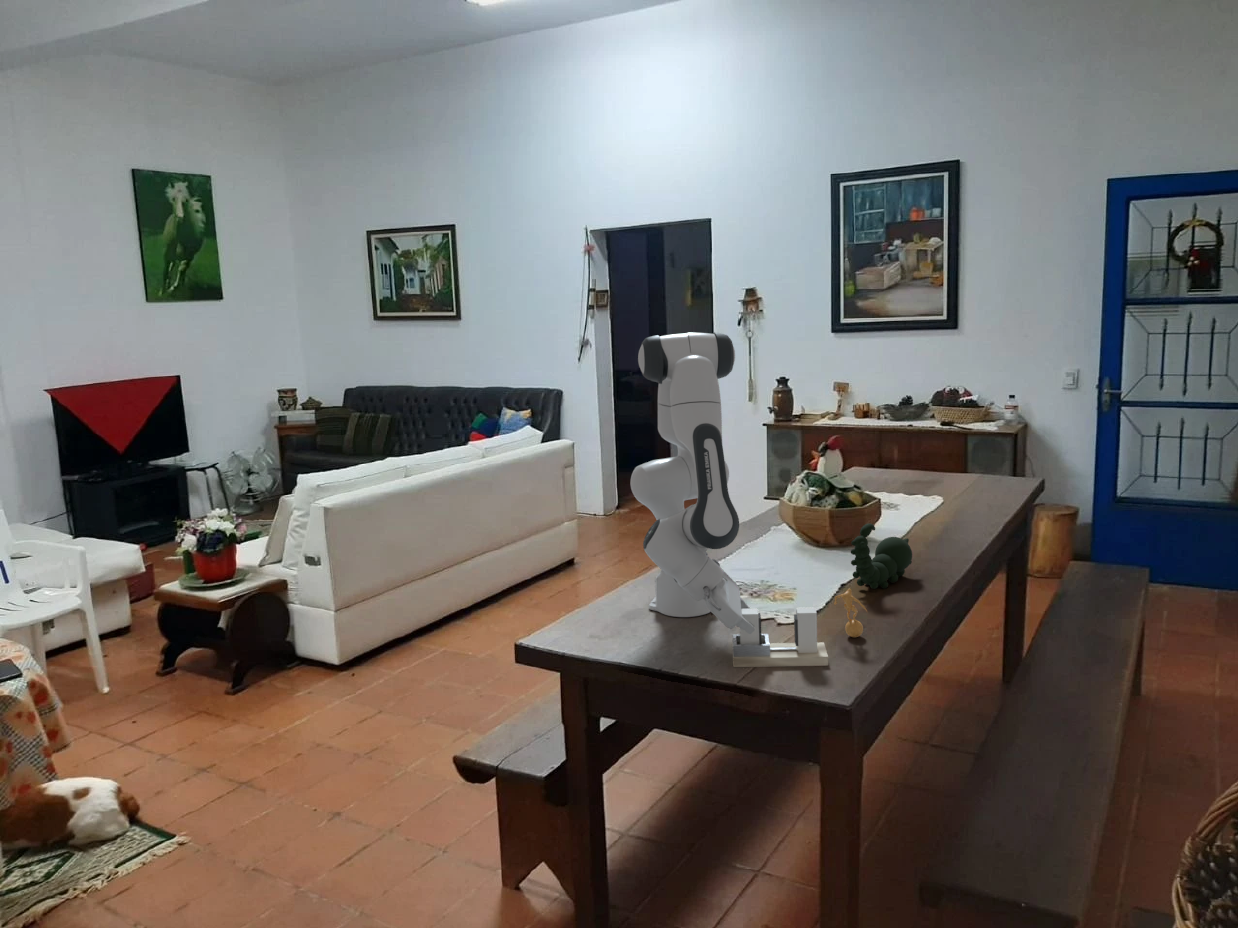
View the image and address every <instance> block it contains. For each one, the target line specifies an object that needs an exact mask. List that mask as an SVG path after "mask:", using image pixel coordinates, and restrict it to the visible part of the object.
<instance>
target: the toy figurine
mask: <svg viewBox="0 0 1238 928" xmlns="http://www.w3.org/2000/svg"><path fill="white" fill-rule="evenodd" d="M875 530H876V527H875V525H874V524H873V523H865V524H864V525H863V526H862V527H861V528H860V531H859V535H857V536H856V537H855V538H854V539H853V540H851V542H850V543H851V545H852V546H854V548H853V549H851V550H850V554H851V555H852V556H855V557H854V559H852V560H850V564H851V565H852V566H853V567H854V566H856V567H855V571H853V573H852V577H853V578H854V579H857V581H856V584H857V586H859V587H863V586H865V585H867V586H869V587H870V588H871V589H874V590H876V589H877V588H878V587H880V588H882V589H887V588H888V586H889V583H888V581H889V582H890V583H896V582H898V580H899V577H902V576H904V575H905V573H906V571H905V570H906V569H907V568H908V567H909V566H910V565H912V563H913V562H912V561H913V552H912V548H911V546H910V545H909V542H910V541H909V540H910V539H909V538H904V539H903V538H901V537H897V536H889V537H886V538H884V539H882V540H881V541H880V542H879V543H878V544H877V546H876V547H875V551H874V557H873V558H872V556H871V555H870V552H871V550H870V547H869V546H868V545H869V541H868V537H870V535H871V533H872V531H875ZM887 580H888V581H887Z"/></svg>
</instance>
